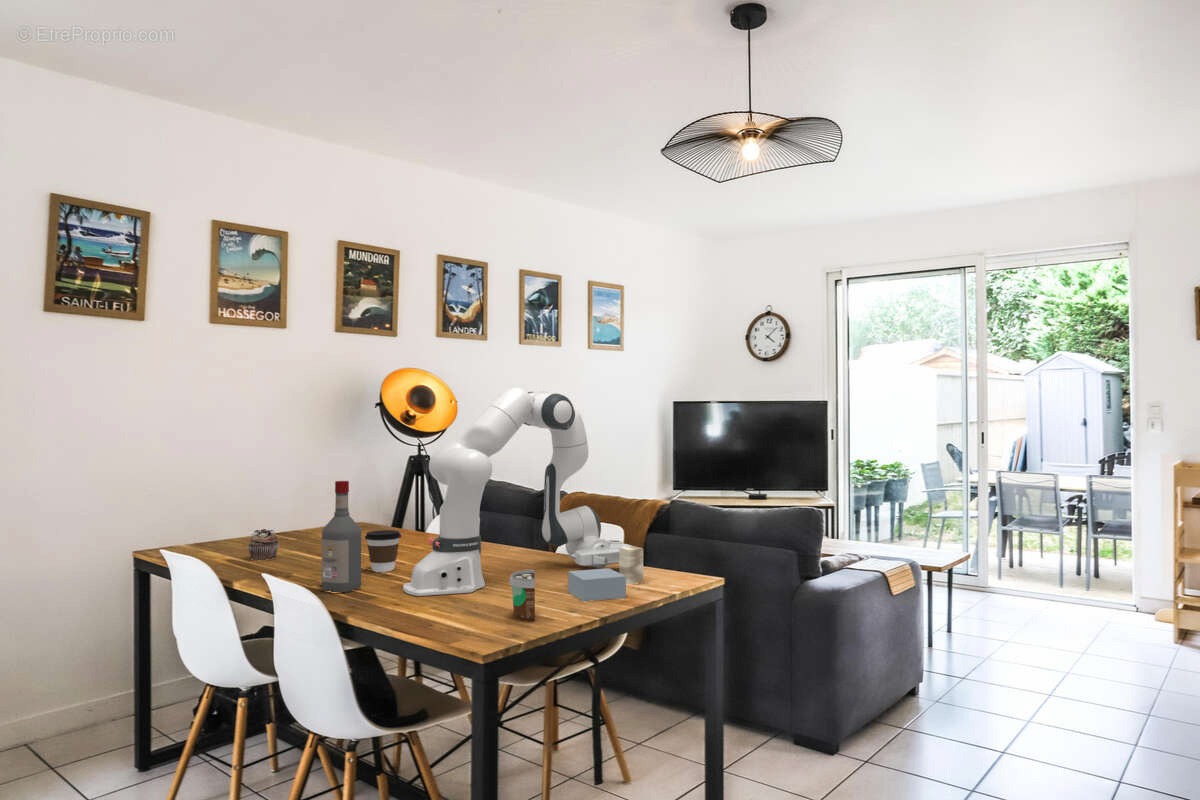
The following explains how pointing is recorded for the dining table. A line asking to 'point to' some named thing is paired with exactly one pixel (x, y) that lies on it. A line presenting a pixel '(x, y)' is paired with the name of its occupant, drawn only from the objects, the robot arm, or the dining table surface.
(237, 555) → the dining table surface
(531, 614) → the food container
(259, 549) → the cupcake
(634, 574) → the birch block
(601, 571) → the slate block
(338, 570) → the liquor
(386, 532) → the coffee cup
